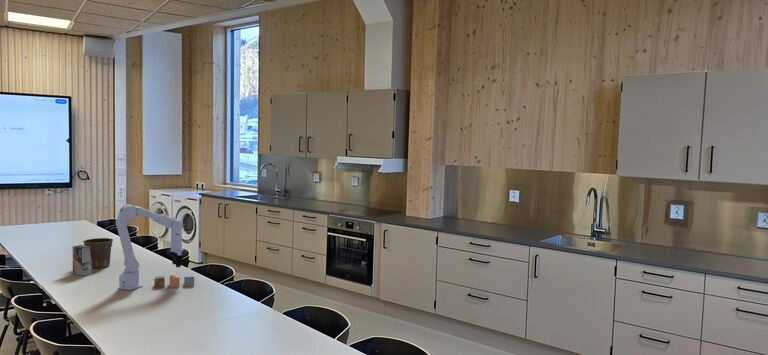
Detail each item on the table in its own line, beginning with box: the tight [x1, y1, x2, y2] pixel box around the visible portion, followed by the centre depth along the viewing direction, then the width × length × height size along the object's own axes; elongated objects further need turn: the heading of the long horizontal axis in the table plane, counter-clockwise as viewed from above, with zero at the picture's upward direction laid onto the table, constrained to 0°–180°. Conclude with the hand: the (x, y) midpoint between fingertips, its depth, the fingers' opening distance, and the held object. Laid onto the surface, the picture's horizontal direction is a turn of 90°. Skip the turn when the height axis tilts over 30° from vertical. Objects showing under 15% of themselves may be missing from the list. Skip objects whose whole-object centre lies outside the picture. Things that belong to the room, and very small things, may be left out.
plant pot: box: [82, 237, 114, 269], centre depth 335 cm, size 16×16×16 cm
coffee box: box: [71, 244, 93, 277], centre depth 316 cm, size 9×6×16 cm
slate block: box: [183, 274, 195, 287], centre depth 302 cm, size 5×5×5 cm
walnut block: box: [153, 275, 166, 289], centre depth 297 cm, size 5×5×5 cm
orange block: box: [169, 274, 181, 288], centre depth 299 cm, size 5×5×5 cm
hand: (176, 265), depth 304 cm, fingers open, 7 cm apart
